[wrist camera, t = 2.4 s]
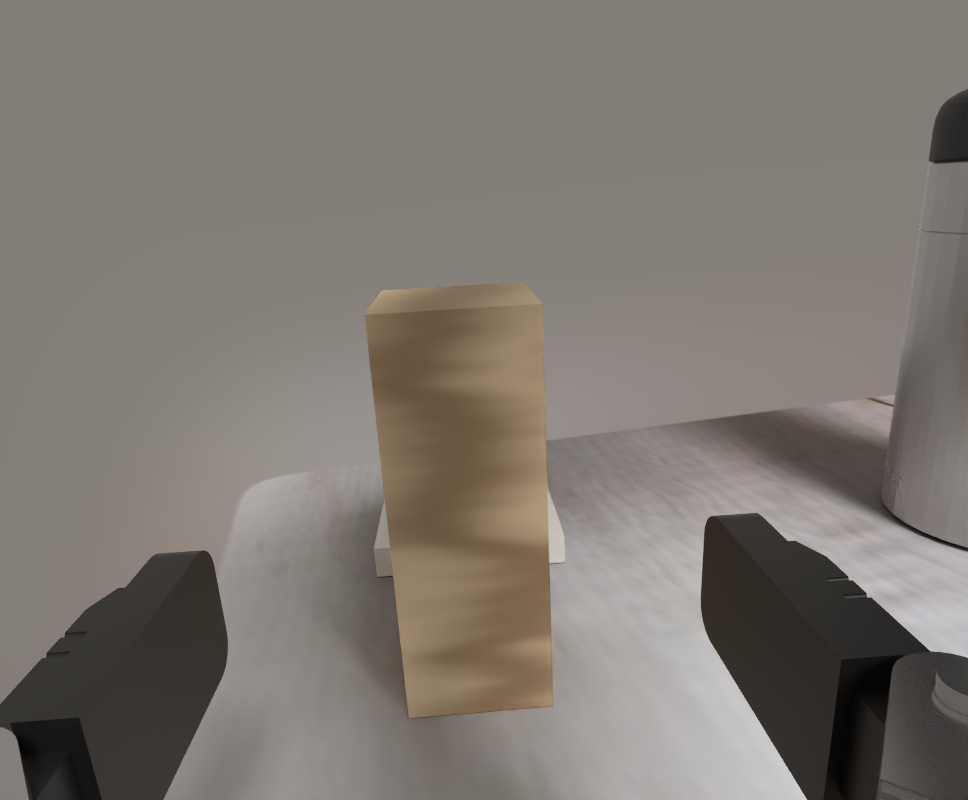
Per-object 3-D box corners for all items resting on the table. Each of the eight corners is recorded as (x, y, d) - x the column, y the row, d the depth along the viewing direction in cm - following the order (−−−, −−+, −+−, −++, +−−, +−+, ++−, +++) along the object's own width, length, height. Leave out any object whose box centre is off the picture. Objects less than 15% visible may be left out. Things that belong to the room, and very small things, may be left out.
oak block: (534, 617, 27) (522, 282, 23) (553, 705, 22) (542, 303, 18) (415, 626, 27) (381, 290, 23) (408, 718, 22) (364, 314, 18)
